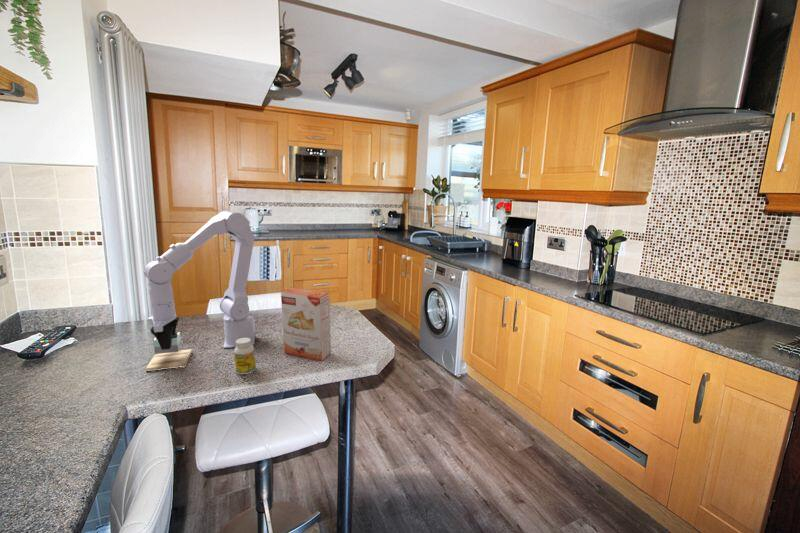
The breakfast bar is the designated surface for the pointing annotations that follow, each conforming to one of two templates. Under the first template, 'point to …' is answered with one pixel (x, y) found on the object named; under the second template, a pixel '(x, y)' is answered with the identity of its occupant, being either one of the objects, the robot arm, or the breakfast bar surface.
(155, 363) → the plate
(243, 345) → the supplement bottle
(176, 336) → the housing
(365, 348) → the breakfast bar surface
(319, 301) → the cracker box
